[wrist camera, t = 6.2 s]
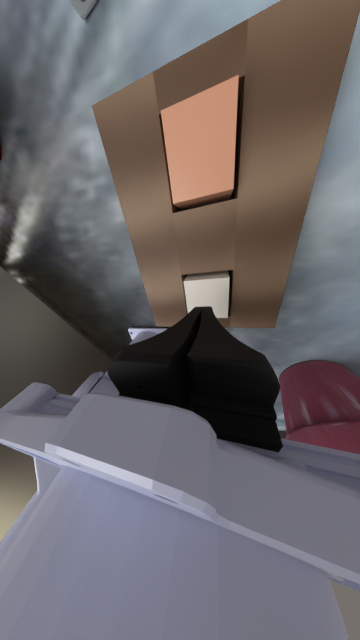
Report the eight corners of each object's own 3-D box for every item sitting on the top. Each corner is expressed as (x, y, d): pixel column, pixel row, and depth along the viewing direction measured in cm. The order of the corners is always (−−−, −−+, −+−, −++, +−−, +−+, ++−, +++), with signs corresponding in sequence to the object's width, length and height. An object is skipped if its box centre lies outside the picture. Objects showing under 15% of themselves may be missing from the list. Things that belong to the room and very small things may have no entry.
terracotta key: (229, 199, 12) (233, 188, 9) (182, 210, 13) (173, 203, 10) (232, 121, 9) (238, 74, 7) (175, 143, 11) (160, 110, 8)
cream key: (225, 303, 17) (227, 317, 14) (192, 304, 18) (188, 318, 15) (227, 268, 15) (229, 277, 12) (189, 272, 16) (183, 281, 13)
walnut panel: (263, 310, 18) (274, 327, 14) (165, 312, 21) (156, 326, 18) (314, 57, 8) (376, -53, 5) (125, 139, 12) (91, 105, 9)
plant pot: (402, 348, 16) (728, 552, 6) (349, 407, 23) (454, 546, 13) (268, 345, 20) (322, 462, 10) (257, 396, 28) (282, 495, 17)
